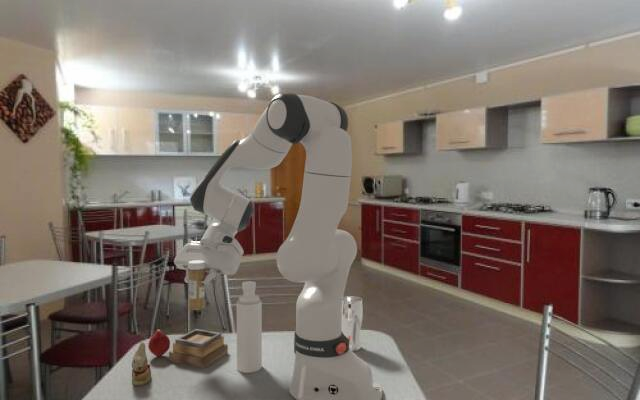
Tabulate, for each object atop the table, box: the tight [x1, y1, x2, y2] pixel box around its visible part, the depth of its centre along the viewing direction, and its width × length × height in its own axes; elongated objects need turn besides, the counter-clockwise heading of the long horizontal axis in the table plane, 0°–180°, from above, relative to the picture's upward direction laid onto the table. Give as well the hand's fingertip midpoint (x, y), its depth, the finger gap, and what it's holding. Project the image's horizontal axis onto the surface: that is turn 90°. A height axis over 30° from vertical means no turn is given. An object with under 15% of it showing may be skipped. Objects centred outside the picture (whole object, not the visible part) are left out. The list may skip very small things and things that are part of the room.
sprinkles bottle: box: [188, 260, 206, 311], centre depth 126 cm, size 5×5×14 cm
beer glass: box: [342, 295, 364, 353], centre depth 135 cm, size 7×7×15 cm
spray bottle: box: [236, 280, 263, 374], centre depth 120 cm, size 7×7×25 cm
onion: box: [147, 329, 171, 358], centre depth 127 cm, size 6×6×8 cm
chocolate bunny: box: [131, 341, 152, 387], centre depth 113 cm, size 6×8×10 cm
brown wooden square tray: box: [168, 328, 229, 369], centre depth 128 cm, size 12×11×6 cm
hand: (195, 283), depth 125 cm, fingers closed on sprinkles bottle, 4 cm apart
